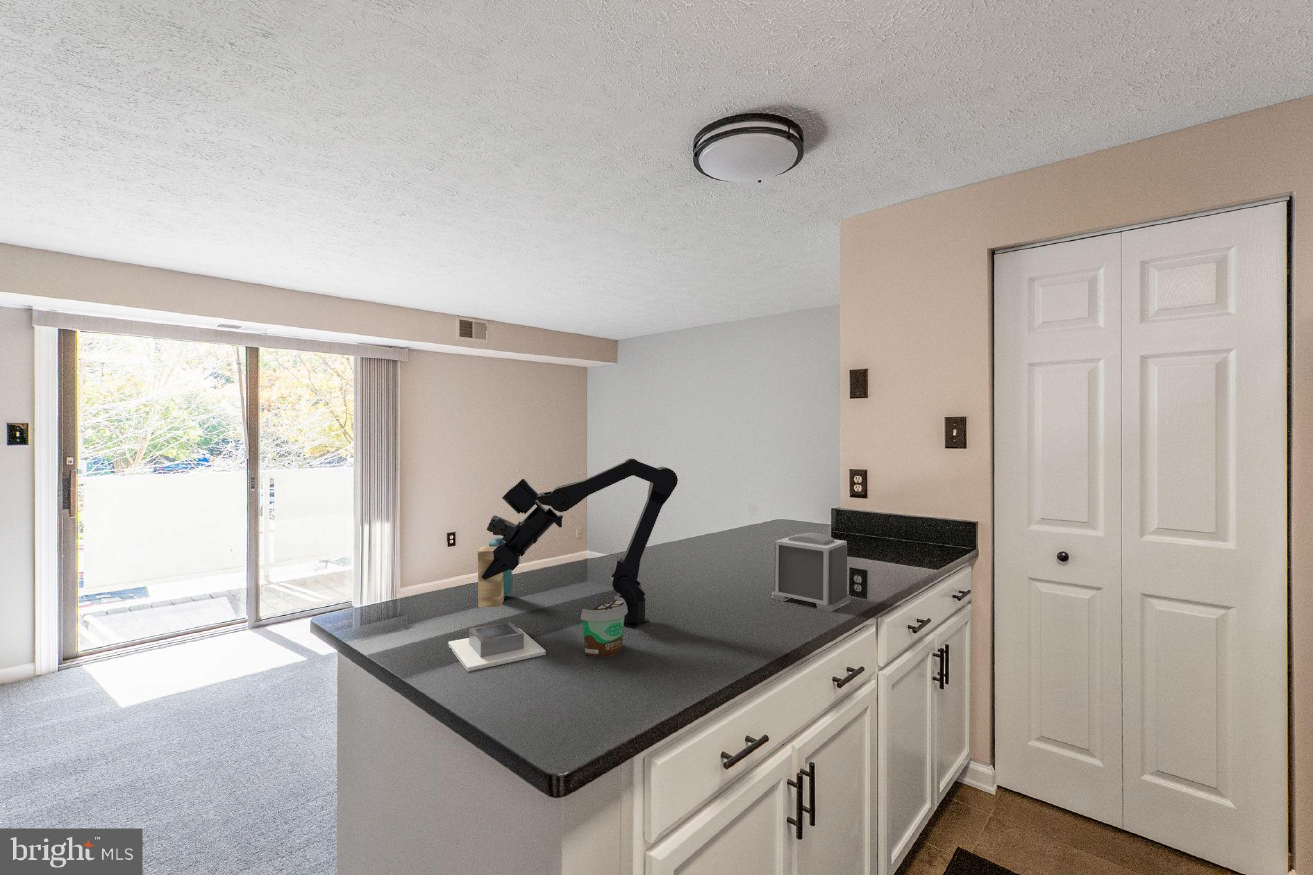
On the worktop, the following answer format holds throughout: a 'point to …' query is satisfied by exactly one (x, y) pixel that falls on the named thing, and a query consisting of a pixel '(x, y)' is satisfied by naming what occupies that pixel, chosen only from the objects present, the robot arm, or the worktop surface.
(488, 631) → the metal collar
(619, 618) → the food container
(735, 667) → the worktop surface
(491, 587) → the pine post
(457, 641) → the base plate
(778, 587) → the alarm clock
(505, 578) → the beverage bottle
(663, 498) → the robot arm
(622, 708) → the worktop surface
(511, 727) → the worktop surface
